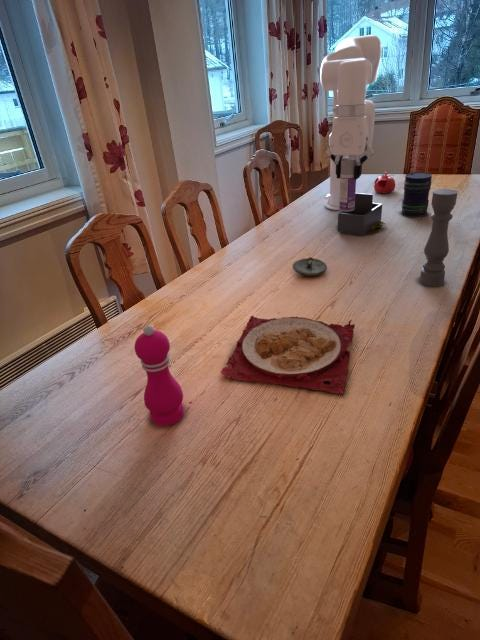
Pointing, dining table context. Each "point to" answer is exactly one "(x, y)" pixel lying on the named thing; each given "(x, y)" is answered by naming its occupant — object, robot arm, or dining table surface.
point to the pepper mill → (159, 378)
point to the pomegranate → (384, 184)
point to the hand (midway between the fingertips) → (348, 177)
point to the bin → (360, 215)
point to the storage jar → (416, 194)
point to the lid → (309, 266)
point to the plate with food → (292, 353)
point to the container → (347, 185)
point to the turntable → (369, 231)
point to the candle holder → (438, 238)
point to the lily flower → (378, 225)
